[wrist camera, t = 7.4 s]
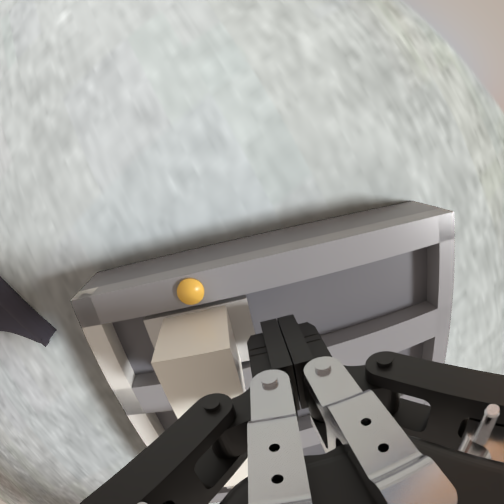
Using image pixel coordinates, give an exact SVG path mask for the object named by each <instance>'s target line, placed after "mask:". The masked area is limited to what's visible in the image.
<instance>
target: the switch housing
mask: <svg viewBox="0 0 504 504" xmlns="http://www.w3.org/2000/svg"><path fill="white" fill-rule="evenodd" d="M454 261H455V225H454V211H450V210H446V209H442V208H439V207H435V206H431V205H427V204H423V203H419V202H415V201H410V202H405V203H400V204H395V205H390V206H386V207H381V208H376V209H371V210H367V211H362V212H357V213H353V214H348V215H343V216H339V217H334V218H329V219H325V220H320V221H316V222H311V223H307V224H302V225H298V226H293V227H288V228H284V229H280V230H275V231H271V232H266V233H262V234H257V235H253V236H249V237H244V238H240V239H235V240H231V241H227V242H222V243H218V244H214V245H209V246H205V247H201V248H197V249H192V250H188V251H184V252H180V253H175V254H171V255H167V256H163V257H159V258H154V259H150V260H146V261H142V262H138V263H134V264H129V265H125V266H121V267H117V268H113V269H109V270H105V271H101V272H97V273H96V274H95V275H94V276H93V277H92V278H91V280H90V281H89V282H88V283H87V284H86V285H85V286H84V287H83V288H82V289H81V290H80V291H79V292H78V293H77V294H76V295H75V296H74V297H73V298H72V299H71V300H70V302H71V304H72V307H73V309H74V312H75V314H76V316H77V319H78V321H79V323H80V326H81V328H82V330H83V332H84V335H85V337H86V339H87V341H88V343H89V345H90V348H91V350H92V352H93V354H94V356H95V358H96V360H97V362H98V364H99V366H100V368H101V370H102V372H103V374H104V376H105V378H106V379H107V381H108V383H109V385H110V387H111V389H112V390H113V392H114V394H115V396H116V398H117V399H118V401H119V403H120V405H121V406H122V408H123V410H124V411H125V413H126V415H127V416H128V418H129V420H130V421H131V423H132V424H133V426H134V428H135V429H136V431H137V432H138V434H139V435H140V437H141V438H142V440H143V441H144V443H145V444H146V446H147V447H148V446H149V445H150V444H151V443H152V442H153V441H154V440H156V439H157V438H158V437H159V436H160V435H161V434H162V433H163V432H164V431H166V430H167V429H168V428H169V427H170V426H171V425H172V424H173V423H174V422H175V421H176V420H178V418H177V417H176V415H175V413H174V411H173V409H172V407H171V405H170V403H169V401H168V399H167V397H166V394H165V392H164V390H163V388H162V386H161V384H160V382H159V380H158V378H157V375H156V373H155V371H154V369H153V366H152V364H151V361H152V357H153V353H154V350H155V349H154V347H153V344H152V342H151V339H150V337H149V334H148V332H147V329H146V327H145V324H144V321H143V320H144V317H145V316H148V315H153V314H158V313H162V312H167V311H172V310H177V309H182V308H186V307H191V306H196V305H200V304H205V303H209V302H214V301H218V300H223V299H227V298H232V297H236V296H240V295H245V294H246V297H247V302H248V306H249V310H250V314H251V319H252V323H253V327H254V331H255V334H259V333H262V329H261V325H260V322H262V321H266V320H271V319H275V318H276V319H277V318H279V317H283V316H287V315H291V314H293V315H294V317H295V319H296V321H297V323H298V324H301V323H305V322H308V323H310V324H312V325H314V326H315V327H316V329H317V331H318V332H319V334H320V336H321V338H322V339H323V341H324V343H325V345H326V347H327V348H328V350H329V352H330V354H331V356H332V357H334V358H336V359H338V360H339V361H340V362H341V363H342V364H343V365H345V366H360V365H365V363H366V360H367V359H368V358H369V357H370V356H371V355H373V354H375V353H377V352H382V351H391V352H395V353H400V354H404V355H408V356H412V357H417V358H421V359H425V360H430V361H434V362H439V363H445V357H446V351H447V344H448V337H449V329H450V320H451V311H452V299H453V285H454ZM241 364H242V370H243V377H244V383H245V389H246V391H247V390H248V389H249V387H250V382H251V380H252V373H251V367H250V360H249V361H244V362H241ZM400 398H403V399H406V400H410V401H413V402H417V403H421V404H424V405H428V406H430V404H429V403H428V402H427V401H425V400H423V399H419V398H415V397H412V396H408V395H405V394H401V395H400ZM299 405H300V403H299ZM297 413H298V418H299V420H298V427H299V432H300V438H301V443H302V449H303V454H304V456H307V455H321V454H325V451H324V449H323V446H322V444H321V442H320V440H319V438H318V436H317V434H316V432H315V430H314V428H313V425H312V423H311V419H310V412H309V409H308V408H305V409H301V406H300V410H297ZM230 490H231V488H228V489H227V487H223V488H222V489H221V490H220V491H219V492H218V493H217V494H216V496H215V497H214V498H213V499H212V500H211V501H210V502H209V503H214V502H221V501H222V500H223V499H224V497H225V496H226V495H227V494H228V492H229V491H230Z"/></svg>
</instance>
